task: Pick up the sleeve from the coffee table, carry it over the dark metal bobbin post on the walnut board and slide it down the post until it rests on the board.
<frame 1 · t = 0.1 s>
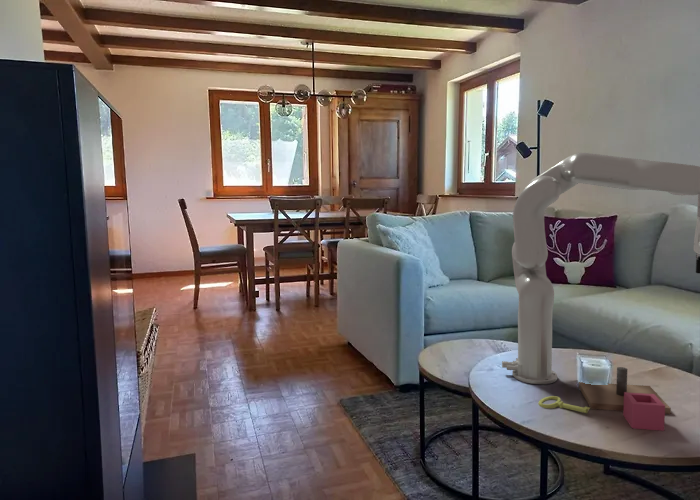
bobbin stand: (621, 399, 126), on the table
sleeve: (643, 422, 113), on the table
key: (561, 409, 123), on the table
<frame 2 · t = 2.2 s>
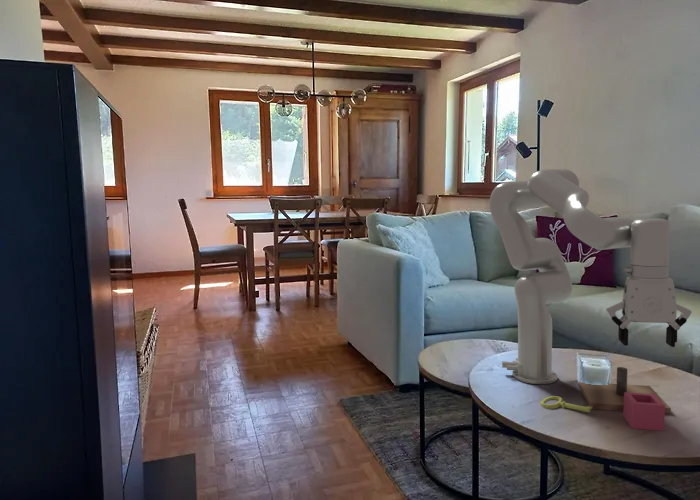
hand: (646, 344, 111), 19 cm above the table, tool pointing down, fingers open, 9 cm apart
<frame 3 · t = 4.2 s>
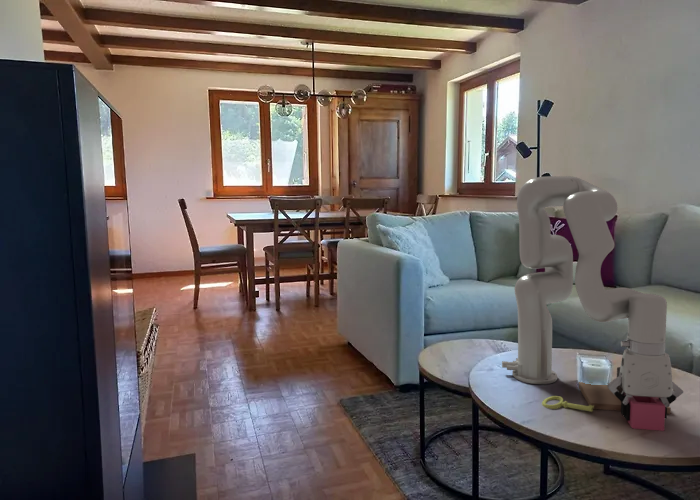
hand: (643, 418, 113), 1 cm above the table, tool pointing down, fingers closed on sleeve, 6 cm apart
sleeve: (643, 422, 113), on the table, touching gripper
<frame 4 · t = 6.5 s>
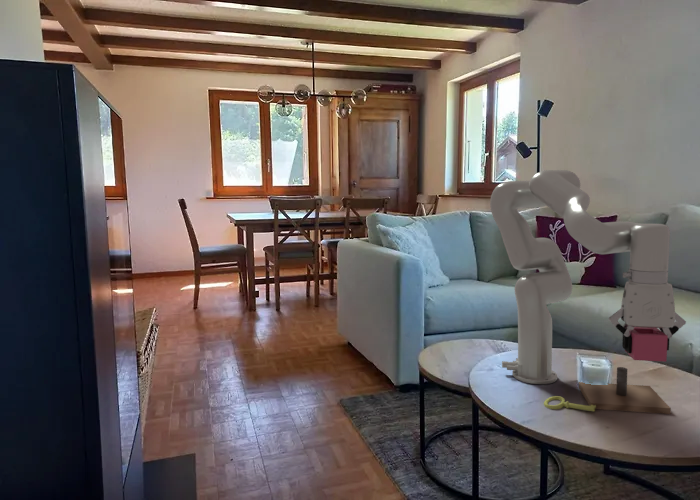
hand: (645, 351, 111), 18 cm above the table, tool pointing down, fingers closed on sleeve, 6 cm apart
sleeve: (644, 355, 112), point 16 cm above the table, touching gripper
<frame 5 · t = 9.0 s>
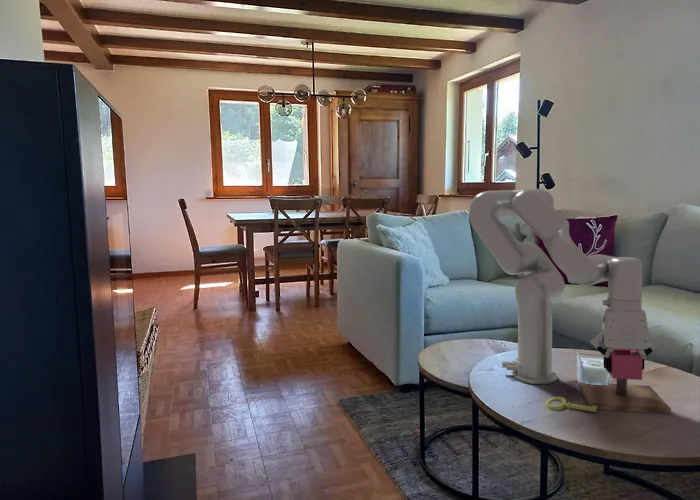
hand: (623, 370, 125), 8 cm above the table, tool pointing down, fingers closed on sleeve, 6 cm apart
sleeve: (623, 374, 125), point 7 cm above the table, touching gripper
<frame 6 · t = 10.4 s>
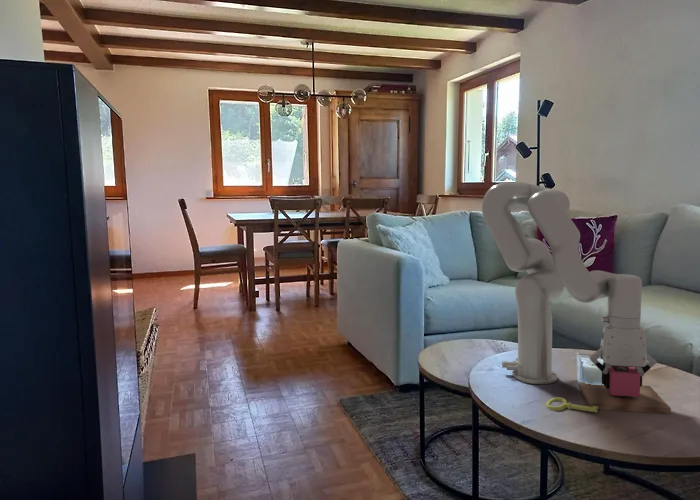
hand: (621, 387, 126), 3 cm above the table, tool pointing down, fingers closed on sleeve, 6 cm apart
sleeve: (621, 390, 126), point 2 cm above the table, touching gripper
when the fingers open (3 cm above the table, at t = 10.4 s): sleeve stays where it is, resting on bobbin stand.
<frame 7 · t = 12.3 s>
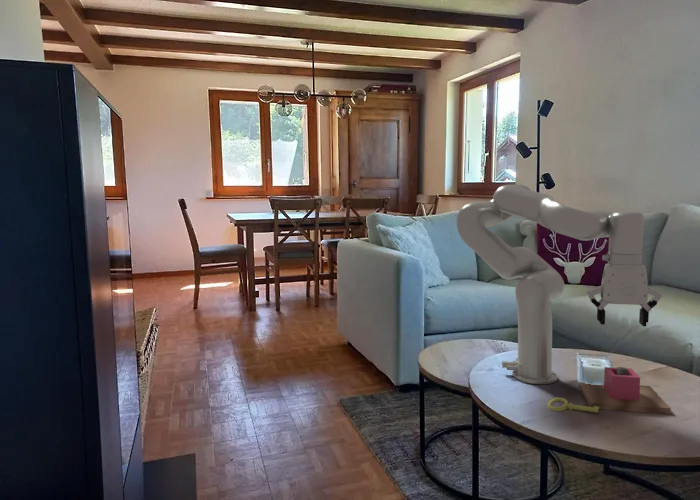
hand: (622, 324, 124), 20 cm above the table, tool pointing down, fingers open, 9 cm apart
sleeve: (621, 394, 126), point 1 cm above the table, touching bobbin stand
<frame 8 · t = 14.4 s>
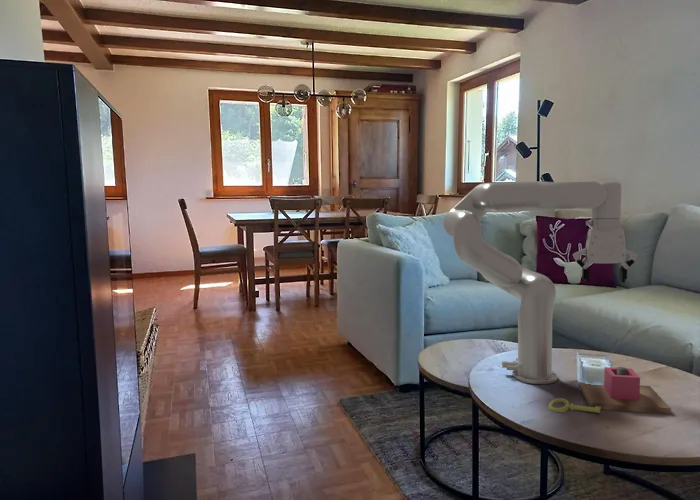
hand: (604, 281, 141), 28 cm above the table, tool pointing down, fingers open, 9 cm apart
at the end: sleeve 0.1 cm from the bobbin stand (horizontally); sleeve point 1.5 cm above the table; the gripper is holding nothing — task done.
